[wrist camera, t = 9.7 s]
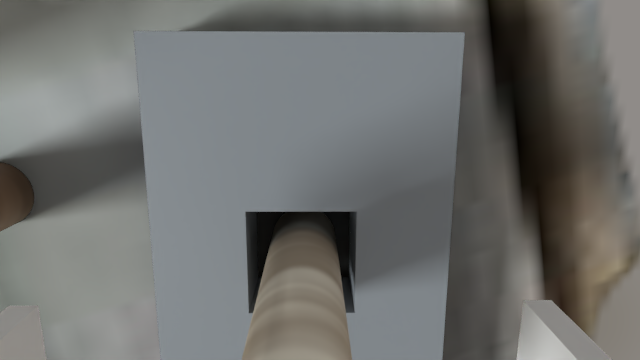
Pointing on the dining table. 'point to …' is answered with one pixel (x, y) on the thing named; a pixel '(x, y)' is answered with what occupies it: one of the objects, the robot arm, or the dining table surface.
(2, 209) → the short pin
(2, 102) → the dining table surface
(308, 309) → the long pin
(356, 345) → the grey block with hole
